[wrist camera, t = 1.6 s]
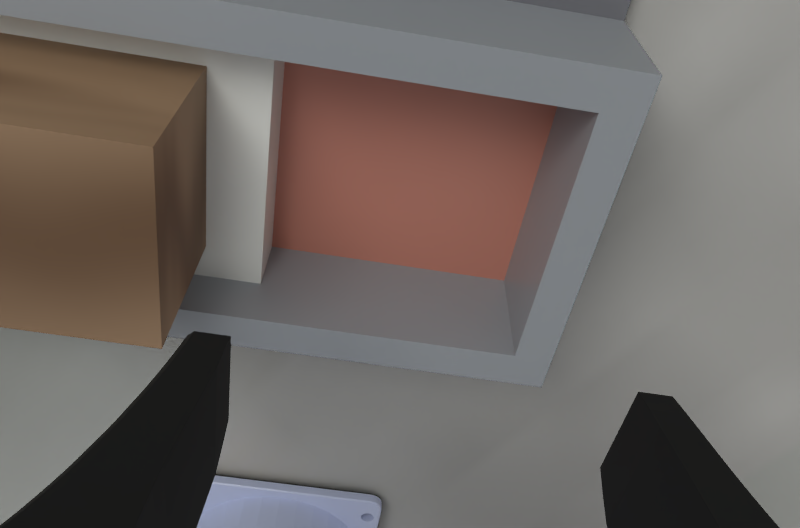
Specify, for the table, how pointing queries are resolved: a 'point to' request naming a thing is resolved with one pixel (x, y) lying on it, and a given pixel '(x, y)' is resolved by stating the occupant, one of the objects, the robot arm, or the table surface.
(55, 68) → the walnut block
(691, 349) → the table surface
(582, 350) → the table surface
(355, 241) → the trap channel
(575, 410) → the table surface
